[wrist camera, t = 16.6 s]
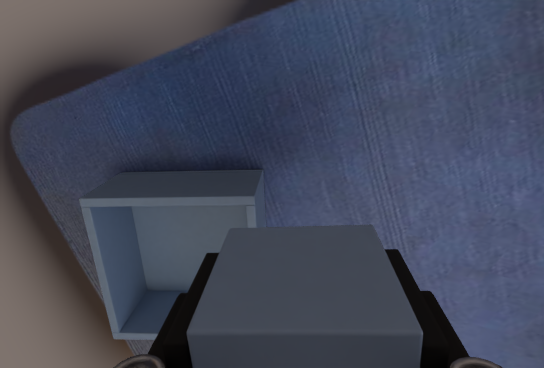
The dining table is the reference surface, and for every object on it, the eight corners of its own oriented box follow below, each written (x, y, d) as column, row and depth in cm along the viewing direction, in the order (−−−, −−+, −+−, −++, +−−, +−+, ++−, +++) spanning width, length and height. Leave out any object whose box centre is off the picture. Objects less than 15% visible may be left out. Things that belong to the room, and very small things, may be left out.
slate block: (228, 227, 11) (184, 332, 7) (373, 223, 10) (425, 332, 6) (241, 339, 12) (212, 484, 8) (369, 340, 12) (408, 492, 8)
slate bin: (121, 172, 27) (78, 198, 21) (263, 169, 26) (254, 196, 21) (145, 291, 30) (113, 339, 25) (270, 292, 30) (263, 342, 24)
